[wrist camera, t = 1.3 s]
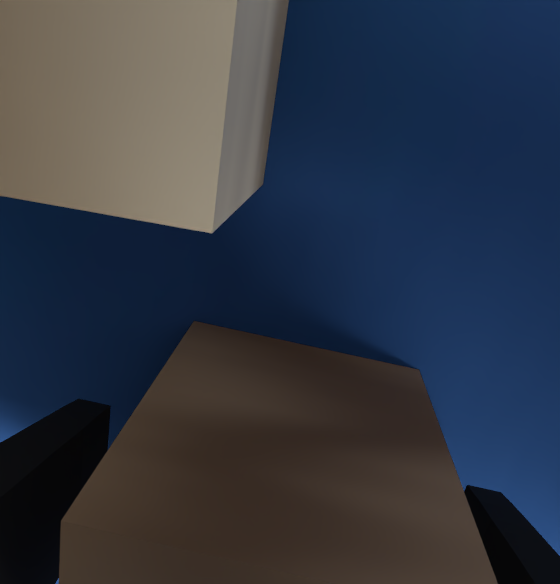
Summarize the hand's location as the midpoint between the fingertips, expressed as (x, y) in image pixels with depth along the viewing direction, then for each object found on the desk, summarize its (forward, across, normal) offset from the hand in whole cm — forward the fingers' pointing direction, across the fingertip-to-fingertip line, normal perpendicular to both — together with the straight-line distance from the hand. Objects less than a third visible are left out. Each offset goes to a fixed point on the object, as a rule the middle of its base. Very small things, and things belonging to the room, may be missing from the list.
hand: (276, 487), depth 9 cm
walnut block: (+2, 0, 0) cm, 2 cm away
